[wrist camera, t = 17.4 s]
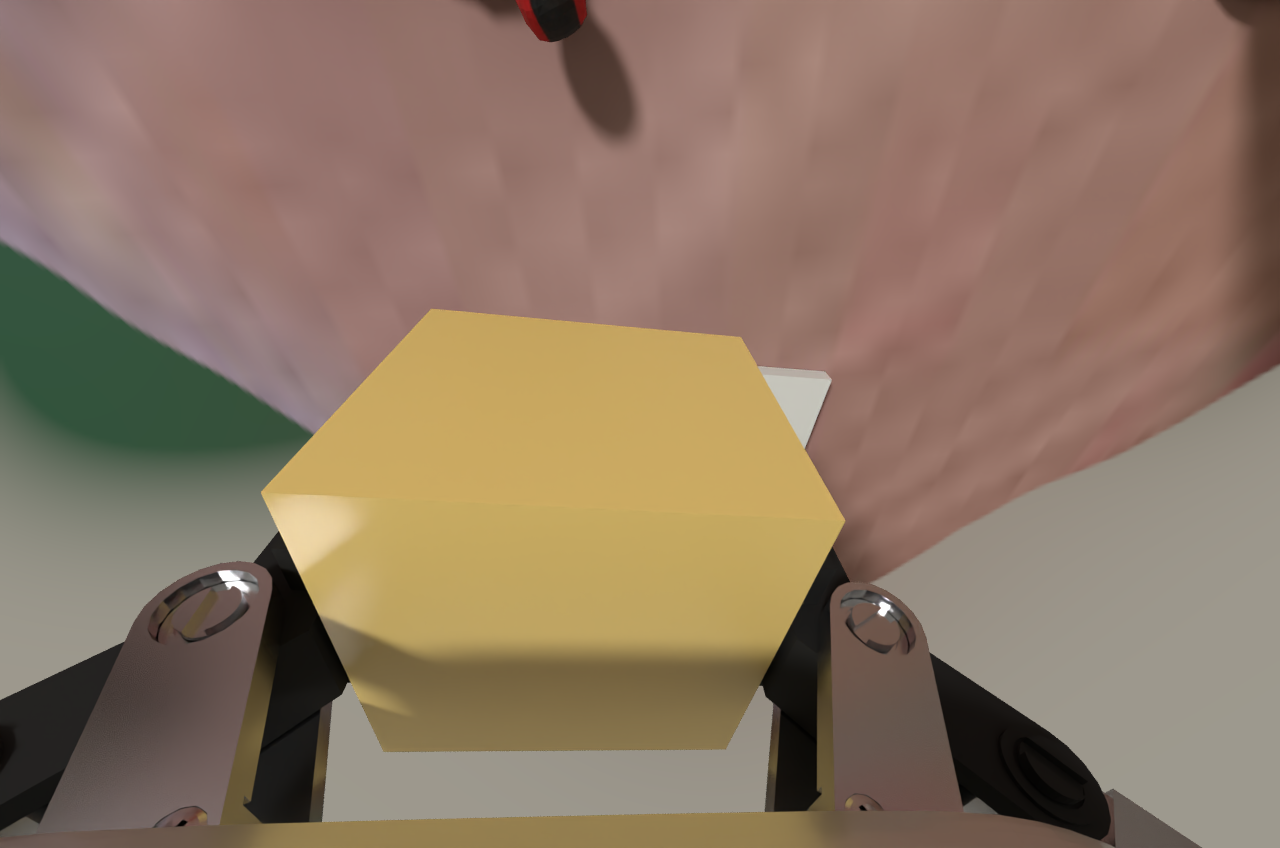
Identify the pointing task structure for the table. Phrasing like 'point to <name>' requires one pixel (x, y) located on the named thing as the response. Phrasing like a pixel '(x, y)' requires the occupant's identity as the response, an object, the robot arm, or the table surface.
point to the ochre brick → (556, 535)
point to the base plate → (798, 396)
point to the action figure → (553, 17)
